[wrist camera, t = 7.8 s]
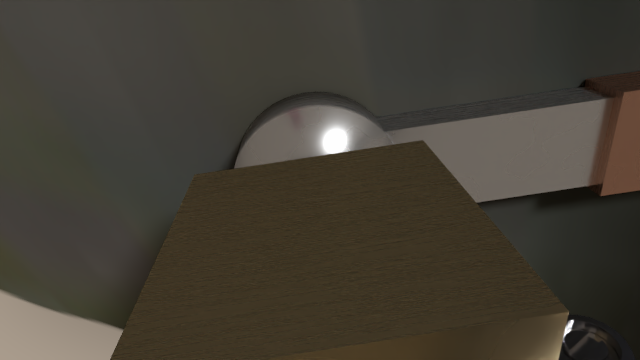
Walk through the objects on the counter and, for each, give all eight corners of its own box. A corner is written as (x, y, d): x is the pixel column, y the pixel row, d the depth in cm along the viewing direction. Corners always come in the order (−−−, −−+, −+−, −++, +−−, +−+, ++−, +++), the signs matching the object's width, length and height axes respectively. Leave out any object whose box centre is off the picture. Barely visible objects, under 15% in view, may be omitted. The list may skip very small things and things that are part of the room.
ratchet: (849, 12, 15) (1116, 29, 10) (781, 162, 18) (963, 231, 13) (220, 105, 15) (188, 167, 10) (255, 241, 18) (243, 341, 13)
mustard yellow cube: (422, 140, 10) (568, 311, 5) (425, 308, 13) (520, 534, 8) (194, 174, 10) (99, 384, 5) (244, 336, 13) (216, 584, 8)
